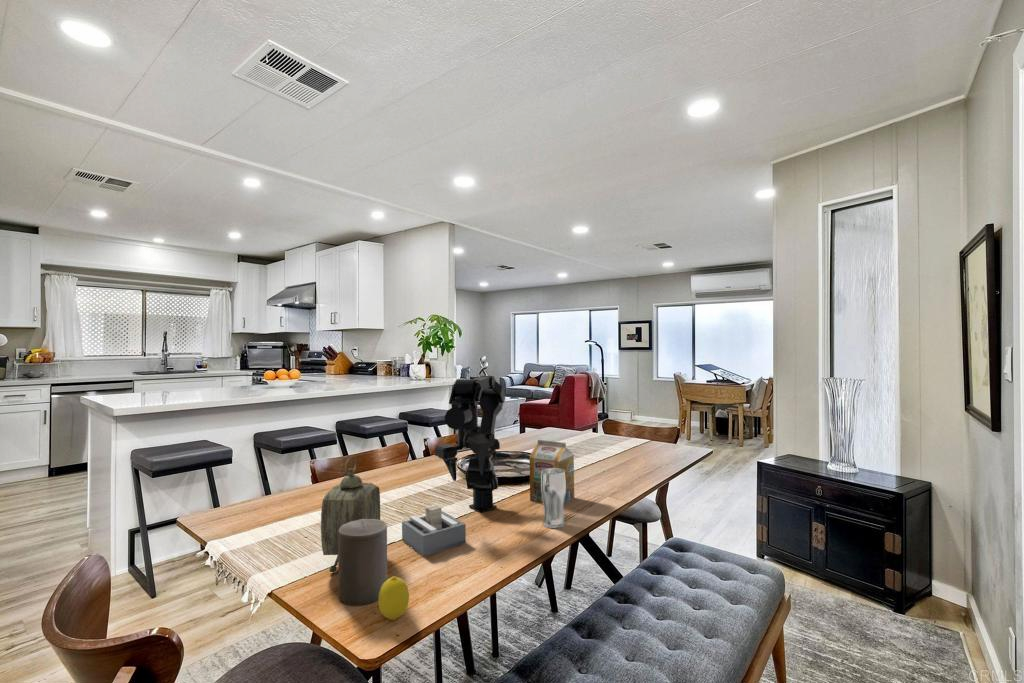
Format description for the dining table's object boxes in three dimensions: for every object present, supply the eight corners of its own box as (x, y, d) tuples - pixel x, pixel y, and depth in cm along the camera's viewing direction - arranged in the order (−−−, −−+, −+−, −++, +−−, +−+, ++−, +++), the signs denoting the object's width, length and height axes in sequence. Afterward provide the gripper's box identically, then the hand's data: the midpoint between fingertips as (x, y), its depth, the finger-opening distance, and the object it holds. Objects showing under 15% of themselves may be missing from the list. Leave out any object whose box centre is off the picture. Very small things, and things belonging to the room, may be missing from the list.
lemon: (381, 612, 90) (381, 570, 90) (411, 610, 90) (410, 568, 90) (375, 629, 84) (375, 585, 84) (407, 627, 85) (406, 583, 85)
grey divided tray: (402, 540, 122) (401, 518, 122) (442, 529, 130) (442, 508, 130) (423, 557, 113) (422, 532, 113) (465, 543, 120) (465, 520, 120)
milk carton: (530, 501, 152) (529, 442, 152) (546, 492, 160) (545, 436, 160) (558, 507, 146) (557, 446, 146) (574, 497, 154) (573, 439, 154)
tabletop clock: (346, 549, 118) (345, 449, 118) (382, 548, 118) (380, 449, 118) (321, 577, 103) (320, 464, 104) (362, 577, 103) (360, 464, 103)
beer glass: (565, 529, 128) (564, 474, 128) (540, 528, 129) (539, 473, 129) (567, 520, 135) (566, 468, 135) (543, 518, 136) (542, 467, 136)
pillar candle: (341, 611, 90) (341, 533, 90) (335, 587, 99) (335, 516, 99) (392, 598, 95) (392, 524, 95) (382, 577, 103) (382, 509, 103)
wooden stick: (425, 538, 121) (425, 507, 121) (436, 535, 123) (435, 504, 123) (431, 541, 119) (430, 510, 119) (441, 538, 121) (441, 507, 121)
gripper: (453, 430, 122) (454, 491, 122) (510, 422, 133) (511, 477, 133) (433, 425, 130) (434, 481, 130) (488, 418, 142) (489, 469, 142)
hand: (468, 477), depth 134 cm, fingers open, 9 cm apart
